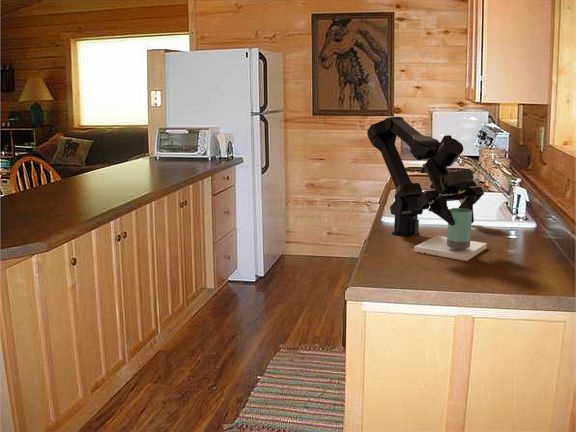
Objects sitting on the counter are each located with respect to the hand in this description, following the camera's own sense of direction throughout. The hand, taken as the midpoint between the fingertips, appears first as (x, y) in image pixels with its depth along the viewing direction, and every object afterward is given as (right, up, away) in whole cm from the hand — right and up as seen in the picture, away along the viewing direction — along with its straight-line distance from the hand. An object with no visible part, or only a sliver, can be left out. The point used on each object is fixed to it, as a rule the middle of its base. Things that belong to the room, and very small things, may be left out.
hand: (462, 223), depth 165 cm
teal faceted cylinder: (0, -6, +3) cm, 7 cm away
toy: (+12, -1, +39) cm, 41 cm away
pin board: (-1, -7, +8) cm, 11 cm away
